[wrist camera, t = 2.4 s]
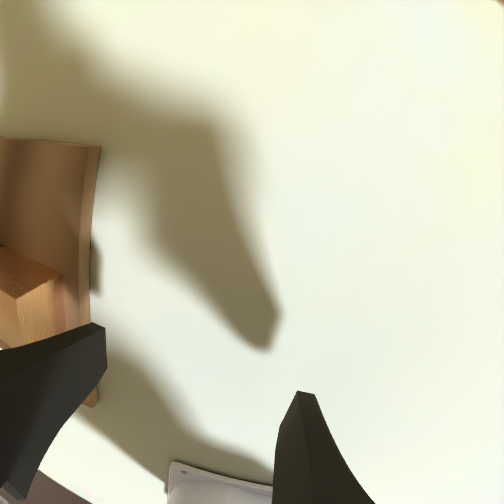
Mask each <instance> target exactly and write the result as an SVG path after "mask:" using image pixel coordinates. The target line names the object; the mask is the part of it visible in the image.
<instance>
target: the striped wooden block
mask: <svg viewBox="0 0 504 504" xmlns="http://www.w3.org/2000/svg"><path fill="white" fill-rule="evenodd" d="M64 330H66V319H65V308H64V293H63V273H61V272H58V271H56V270H54V269H52V268H50V267H47V266H45V265H43V264H41V263H39V262H37V261H35V260H33V259H31V258H29V257H27V256H25V255H22V254H20V253H18V252H17V251H15V250H13V249H11V248H9V247H7V246H5V245H3V244H1V243H0V339H1V340H2V341H3V342H5V343H6V344H7V345H8V346H10V347H11V348H14V347H19V346H23V345H26V344H29V343H33V342H36V341H40V340H43V339H46V338H49V337H52V336H55V335H57V334H60V333H62V332H63V331H64Z"/></svg>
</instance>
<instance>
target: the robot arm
mask: <svg viewBox="0 0 504 504" xmlns="http://www.w3.org/2000/svg"><path fill="white" fill-rule="evenodd" d="M106 369H107V356H106V337H105V328H104V327H102V326H99V325H97V324H95V323H93V322H92V323H89V324H86V325H83V326H80V327H77V328H74V329H71V330H69V331H66V332H63V333H60V334H57V335H55V336H52V337H49V338H46V339H43V340H40V341H36V342H33V343H29V344H26V345H23V346H19V347H14V348H10V349H4V350H0V488H1V487H3V488H4V489H5V490H6V491H7V492H9V493H10V494H11V495H12V496H13V497H15V498H16V499H17V500H25V499H26V497H27V494H28V491H29V488H30V486H31V483H32V481H33V478H34V476H35V474H36V471H37V469H38V467H39V465H40V463H41V461H42V459H43V457H44V455H45V454H46V452H47V450H48V448H49V446H50V445H51V443H52V441H53V440H54V438H55V437H56V435H57V433H58V432H59V430H60V429H61V427H62V426H63V425H64V423H65V422H66V421H67V420H68V419H69V417H70V416H71V415H72V414H73V413H74V412H75V410H76V409H77V408H78V407H79V406H80V405H81V403H82V402H83V401H84V400H85V399H86V398H87V396H88V395H89V394H90V393H91V392H92V390H93V389H94V388H95V387H96V385H97V384H98V382H99V381H100V379H101V377H102V376H103V374H104V372H105V371H106ZM167 501H168V502H167V504H375V503H374V501H373V500H372V499H371V498H370V497H369V496H368V494H367V493H366V492H365V491H364V489H363V488H362V487H361V485H360V484H359V482H358V481H357V480H356V478H355V477H354V475H353V474H352V472H351V470H350V469H349V467H348V465H347V464H346V462H345V460H344V458H343V457H342V455H341V453H340V451H339V449H338V447H337V445H336V443H335V441H334V439H333V437H332V435H331V433H330V431H329V428H328V426H327V424H326V421H325V419H324V417H323V414H322V412H321V409H320V407H319V404H318V401H317V399H316V397H315V395H314V394H311V393H306V392H301V391H297V392H296V394H295V396H294V399H293V401H292V403H291V405H290V407H289V409H288V411H287V413H286V415H285V417H284V419H283V421H282V423H281V425H280V428H279V433H278V438H277V444H276V449H275V462H274V477H273V487H272V486H266V485H261V484H256V483H251V482H246V481H242V480H237V479H233V478H229V477H225V476H221V475H218V474H214V473H210V472H207V471H204V470H200V469H197V468H194V467H191V466H188V465H185V464H182V463H179V462H171V464H170V466H169V480H168V498H167ZM0 504H9V503H8V502H7V501H6V500H5V499H3V498H2V497H1V496H0Z"/></svg>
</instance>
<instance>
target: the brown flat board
mask: <svg viewBox="0 0 504 504" xmlns="http://www.w3.org/2000/svg"><path fill="white" fill-rule="evenodd" d="M100 151H101V147H96V146H88V145H80V144H71V143H62V142H52V141H41V140H28V139H13V138H0V243H1V244H3V245H5V246H7V247H9V248H11V249H13V250H15V251H17V252H18V253H20V254H22V255H25V256H27V257H29V258H31V259H33V260H35V261H37V262H39V263H41V264H43V265H45V266H47V267H50V268H52V269H54V270H56V271H58V272H61V273H63V293H64V308H65V319H66V330H64V331H63V332H66V331H69V330H71V329H74V328H77V327H80V326H83V325H86V324H89V323H90V303H89V261H90V238H91V223H92V211H93V201H94V192H95V184H96V176H97V170H98V163H99V157H100ZM63 332H62V333H63ZM0 347H1V348H2V349H3V350H4V349H10V348H11V347H10V346H8V345H7V344H6V343H5V342H3V341H2V340H1V339H0ZM98 401H99V400H98V393H97V387H95V388H94V389H93V390H92V392H91V393H90V394H89V395H88V396H87V398H86V399H85V400H84V401H83V402H82V403H83V404H85V405H87V406H89V407H90V408H93V407H94V406H95V404H96V403H97V402H98Z"/></svg>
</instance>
